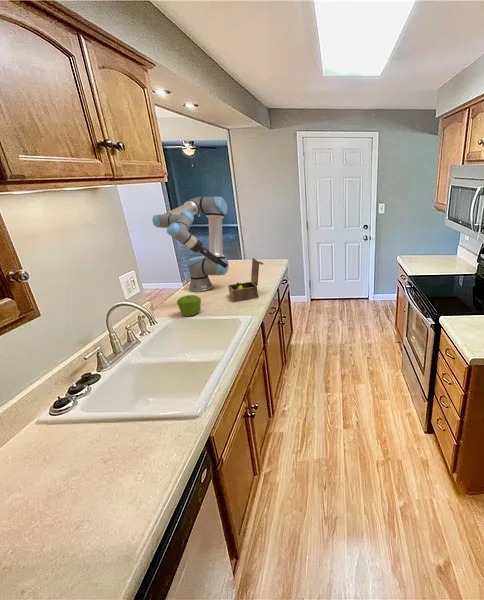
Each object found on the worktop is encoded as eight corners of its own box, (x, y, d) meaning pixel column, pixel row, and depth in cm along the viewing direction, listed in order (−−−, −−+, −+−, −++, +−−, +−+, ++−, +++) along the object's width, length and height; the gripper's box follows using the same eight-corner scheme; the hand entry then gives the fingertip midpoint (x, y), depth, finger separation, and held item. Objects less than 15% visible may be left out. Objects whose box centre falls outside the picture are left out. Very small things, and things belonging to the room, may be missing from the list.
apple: (204, 315, 192) (201, 296, 188) (181, 319, 186) (177, 301, 182) (200, 308, 202) (197, 291, 198) (178, 312, 195) (174, 294, 191)
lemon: (236, 295, 222) (234, 281, 219) (245, 293, 225) (243, 279, 221) (237, 298, 217) (236, 283, 213) (247, 296, 219) (245, 282, 216)
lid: (258, 261, 212) (265, 262, 215) (252, 257, 223) (259, 258, 226) (256, 286, 217) (263, 286, 219) (250, 280, 227) (257, 281, 230)
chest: (234, 302, 212) (232, 290, 209) (229, 296, 223) (228, 285, 220) (258, 297, 220) (257, 286, 217) (252, 292, 231) (251, 281, 228)
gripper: (183, 245, 202) (211, 265, 217) (196, 252, 184) (226, 273, 199) (191, 236, 203) (218, 256, 218) (204, 241, 186) (233, 263, 200)
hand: (222, 264), depth 208 cm, fingers open, 13 cm apart
